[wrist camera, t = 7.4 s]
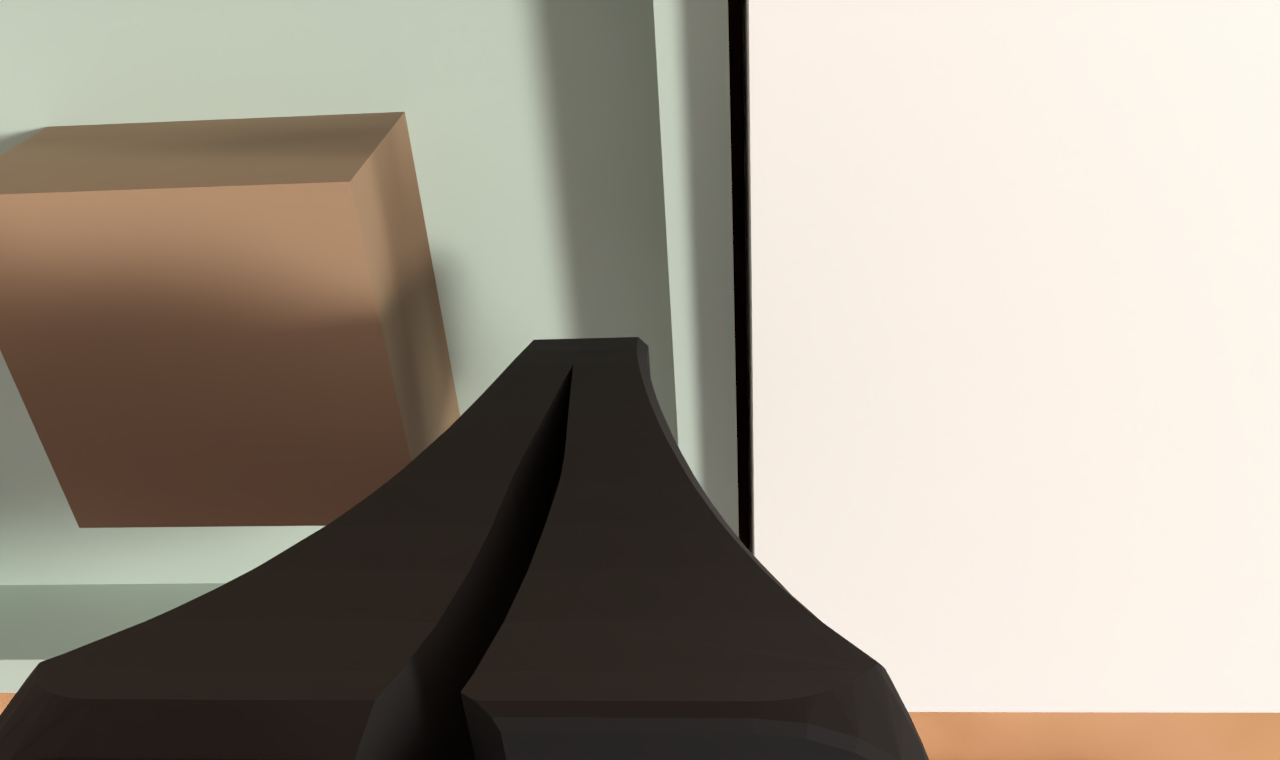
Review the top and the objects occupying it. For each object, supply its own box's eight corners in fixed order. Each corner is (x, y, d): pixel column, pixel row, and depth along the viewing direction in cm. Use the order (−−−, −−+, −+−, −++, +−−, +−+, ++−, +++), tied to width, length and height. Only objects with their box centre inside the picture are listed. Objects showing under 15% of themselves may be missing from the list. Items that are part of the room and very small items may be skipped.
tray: (739, 596, 19) (742, 692, 17) (-40, 602, 20) (-118, 692, 18) (721, -250, 12) (723, -244, 10) (-464, -160, 13) (-659, -142, 11)
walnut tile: (79, 528, 15) (157, 427, 17) (424, 524, 14) (461, 422, 17) (-68, 197, 12) (47, 127, 14) (349, 182, 12) (404, 111, 14)
